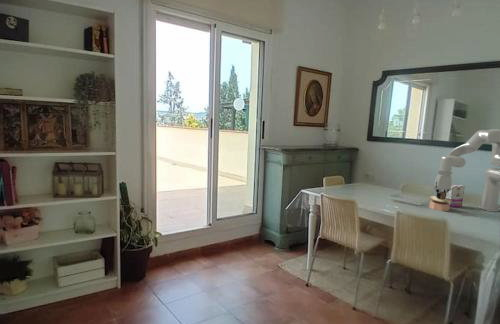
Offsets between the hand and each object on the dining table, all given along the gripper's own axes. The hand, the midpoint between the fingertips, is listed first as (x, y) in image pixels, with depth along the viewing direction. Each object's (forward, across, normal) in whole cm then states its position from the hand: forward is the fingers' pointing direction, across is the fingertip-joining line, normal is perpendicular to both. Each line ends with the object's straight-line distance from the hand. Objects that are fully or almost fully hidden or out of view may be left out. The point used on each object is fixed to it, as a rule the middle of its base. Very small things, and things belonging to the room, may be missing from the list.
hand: (440, 198), depth 233 cm
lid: (+1, 0, 0) cm, 1 cm away
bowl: (+8, 0, 0) cm, 8 cm away
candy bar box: (+8, -16, -8) cm, 20 cm away
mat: (+8, -11, +11) cm, 18 cm away
